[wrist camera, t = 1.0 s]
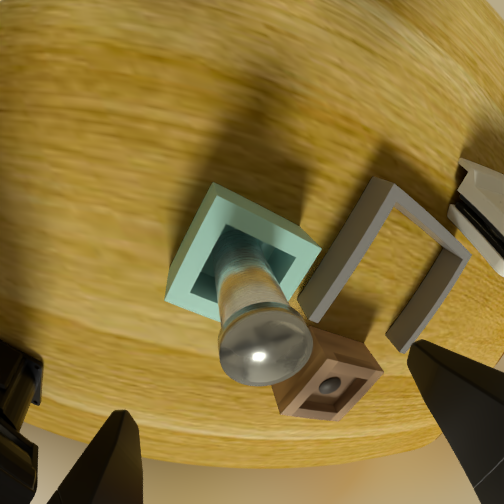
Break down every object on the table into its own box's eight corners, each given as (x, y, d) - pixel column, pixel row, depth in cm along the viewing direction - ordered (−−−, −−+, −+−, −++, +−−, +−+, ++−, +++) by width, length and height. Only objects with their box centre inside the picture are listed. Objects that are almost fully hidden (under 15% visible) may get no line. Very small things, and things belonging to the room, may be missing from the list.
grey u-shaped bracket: (390, 336, 24) (404, 353, 22) (296, 299, 21) (308, 319, 19) (452, 243, 22) (471, 254, 20) (372, 175, 18) (394, 183, 16)
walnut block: (323, 389, 26) (338, 421, 22) (269, 378, 24) (280, 414, 20) (362, 341, 24) (384, 372, 21) (308, 324, 22) (327, 358, 19)
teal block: (252, 301, 21) (263, 337, 17) (169, 267, 19) (164, 300, 15) (298, 225, 19) (321, 248, 16) (212, 181, 17) (216, 195, 14)
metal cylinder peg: (246, 284, 19) (281, 393, 11) (199, 264, 18) (204, 372, 10) (272, 240, 18) (330, 331, 10) (224, 216, 17) (249, 300, 9)
